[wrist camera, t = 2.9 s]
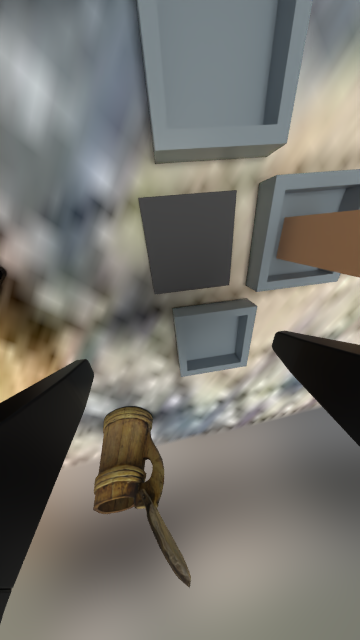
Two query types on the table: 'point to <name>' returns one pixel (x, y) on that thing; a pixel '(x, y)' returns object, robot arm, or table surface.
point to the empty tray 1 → (221, 75)
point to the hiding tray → (288, 201)
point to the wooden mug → (134, 477)
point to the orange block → (323, 241)
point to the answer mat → (189, 239)
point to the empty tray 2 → (213, 335)
